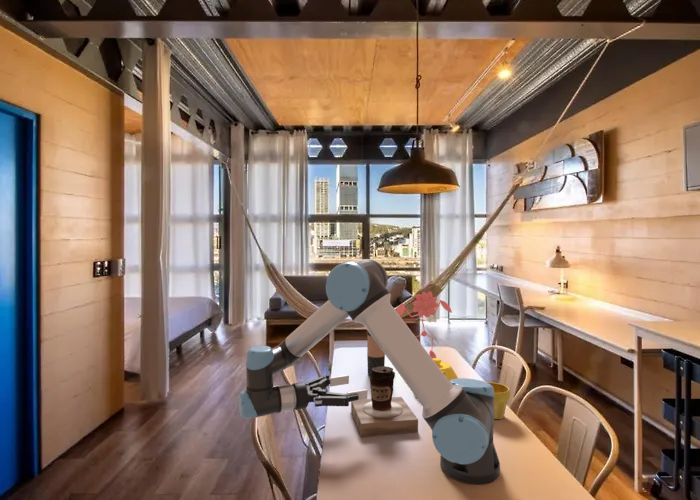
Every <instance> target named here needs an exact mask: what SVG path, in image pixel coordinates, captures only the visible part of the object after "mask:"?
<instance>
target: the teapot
mask: <svg viewBox="0 0 700 500" xmlns="http://www.w3.org/2000/svg"><path fill="white" fill-rule="evenodd" d="M433 360H434V362H435V363H436V364H437V366H438V367H439V368H440V370H441V371H442V372H443V374H444V375H445V376H446V378H447V379H448V380H449V381H450V380H452V379H458V378H459V377H458V376H457V373H456V372H455V370H454V368H453V366H451V364H450V363H448V362H446V361H442V358H438V357H436V358H433Z"/></svg>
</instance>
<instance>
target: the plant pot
mask: <svg viewBox="0 0 700 500" xmlns="http://www.w3.org/2000/svg"><path fill="white" fill-rule="evenodd" d="M486 382H487V381H486ZM487 383H489V384H490V385H492V386H493V388H494V395H495V398H494V419H499V420H502V419H504V418H505V413H506V408H507V404H508V402H509V400H510V395H511V389H510V388H509V387H508V386H507V385H505V384H503V383H498V382H487Z"/></svg>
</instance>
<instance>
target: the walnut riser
mask: <svg viewBox="0 0 700 500" xmlns="http://www.w3.org/2000/svg"><path fill="white" fill-rule="evenodd" d="M391 406H392V408H391V410H388V411H378V410H375V409H373V408H372V399H371V398H367V399H363V400H357V401H352V402H350V412H351V416H352V417H353V420H354V422H355V424H356V427H357V429H358V432H359V434H360V437H361V438H362V437H373V436H374V437H375V436H383V435H385V436H386V435H395V434H408V433H418V432H419V419H418V417H417V416H416V414H415V413H414V412H413V411H412V409H411V408H410V406H409V405H408V403H407V402H406V401H405V399H404V398H403V397H402V396H392V400H391Z"/></svg>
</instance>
